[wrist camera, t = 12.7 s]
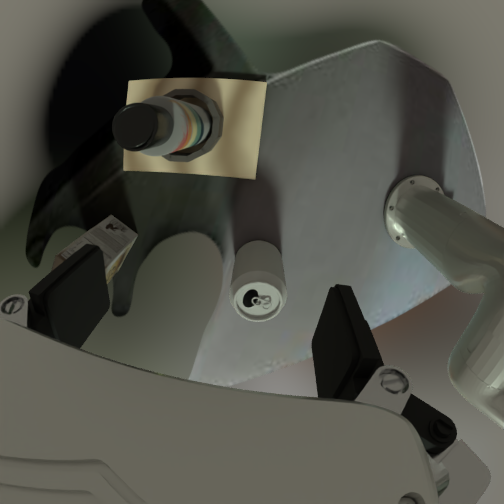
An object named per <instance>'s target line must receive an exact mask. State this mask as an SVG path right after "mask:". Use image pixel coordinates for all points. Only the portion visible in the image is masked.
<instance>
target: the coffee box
mask: <svg viewBox="0 0 504 504" xmlns="http://www.w3.org/2000/svg"><path fill="white" fill-rule="evenodd" d="M137 236H138V234H136V233H135V232H134V231H132V230H131V229H130V228H128V227H127V226H126V225H124V224H123V223H122V222H120V221H119V220H118V219H117V218H115V217H114V216H113V215H110V216H108V217H107V218H106V219H104V220H103V221H101V222H100V223H98V224H97V225H96V226H94V227H93V228H92V229H90V230H89V231H87V232H86V233H85V234H83V235H82V236H81V237H79V238H78V239H77V240H75V241H74V242H72V243H71V244H70V245H69V246H67V247H66V248H65V249H64V250H62V251H61V252H60V253H58V254H57V255H56V257H55V261H54V263H53V267H52V271H53V270H54V269H55V268H56V267H58V266H59V265H60V264H61V263H62V262H64V261H65V260H66V259H67V258H69V257H70V256H71V255H72V254H74V253H75V252H76V251H77V250H79V249H80V248H81V247H83V246H84V245H85V244H92V245H98V246H99V247H100V249H101V250H102V251H103V256H104V265H105V273H106V280H107V284H108V283H109V281H110V280H111V279H112V278H113V276H114V275H115V274H116V273H117V271H118V270H119V269H120V267H121V265H122V263H123V261H124V259H125V257H126V256H127V254H128V252H129V250H130V249H131V247H132V245H133V243H134V241H135V240H136V238H137ZM52 271H51V272H52Z"/></svg>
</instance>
